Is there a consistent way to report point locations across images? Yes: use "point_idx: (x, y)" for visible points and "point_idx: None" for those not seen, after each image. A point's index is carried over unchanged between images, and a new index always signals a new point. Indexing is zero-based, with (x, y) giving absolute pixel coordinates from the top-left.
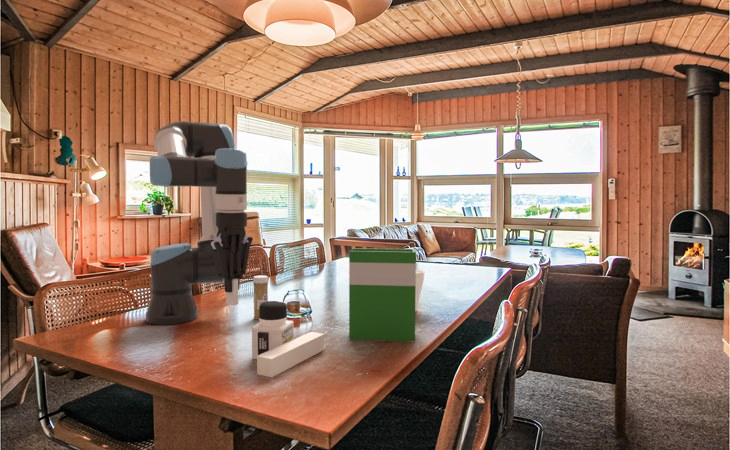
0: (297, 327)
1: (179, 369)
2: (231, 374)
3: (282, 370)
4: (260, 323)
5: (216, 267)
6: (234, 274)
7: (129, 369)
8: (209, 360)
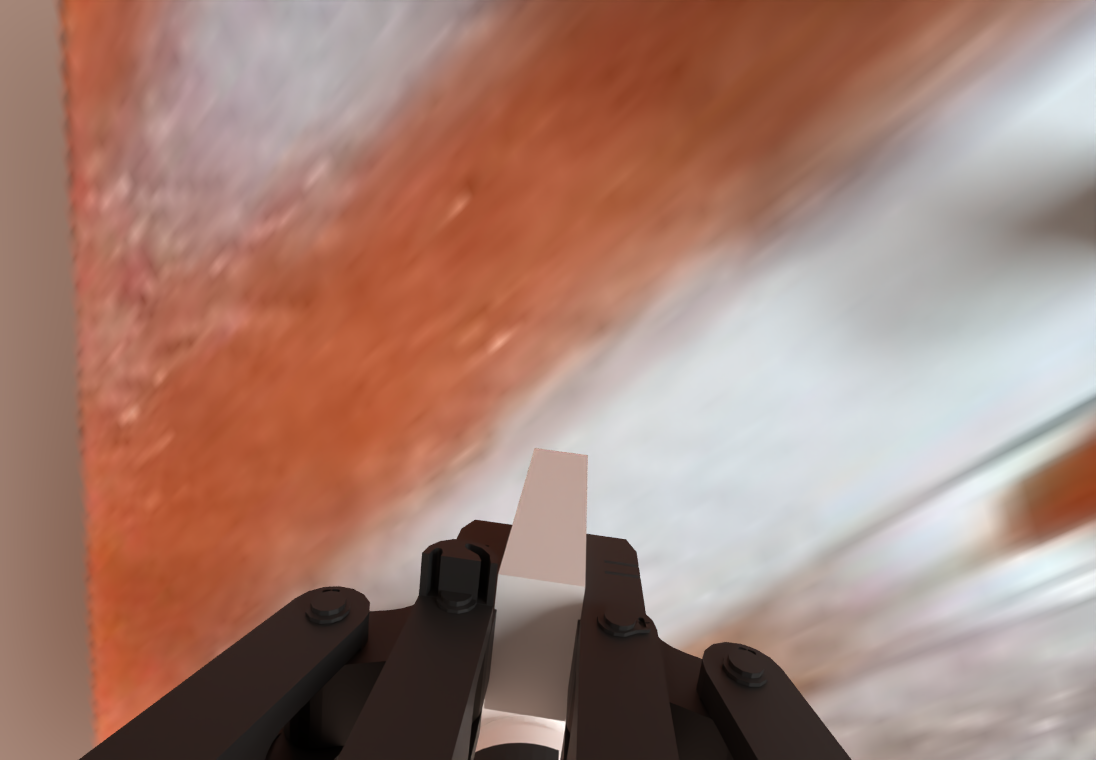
0: (1011, 543)
1: (215, 374)
2: None
3: None
4: (488, 720)
5: (151, 724)
6: (573, 703)
7: (101, 150)
8: (359, 423)
